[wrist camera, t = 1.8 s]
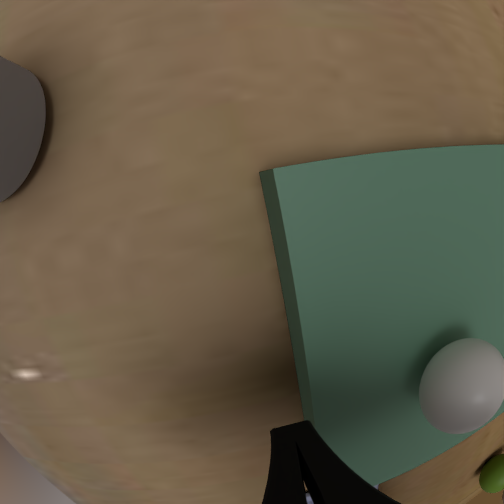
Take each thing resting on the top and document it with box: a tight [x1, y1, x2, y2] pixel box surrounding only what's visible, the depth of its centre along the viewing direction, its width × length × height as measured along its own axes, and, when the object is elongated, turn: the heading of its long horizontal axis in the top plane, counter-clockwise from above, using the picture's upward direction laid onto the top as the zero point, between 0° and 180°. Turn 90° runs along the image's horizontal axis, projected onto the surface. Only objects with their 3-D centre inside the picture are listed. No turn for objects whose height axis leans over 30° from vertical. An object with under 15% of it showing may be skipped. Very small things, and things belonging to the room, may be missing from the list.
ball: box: [419, 338, 504, 434], centre depth 9 cm, size 4×4×4 cm
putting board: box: [259, 145, 504, 486], centre depth 13 cm, size 18×24×3 cm
